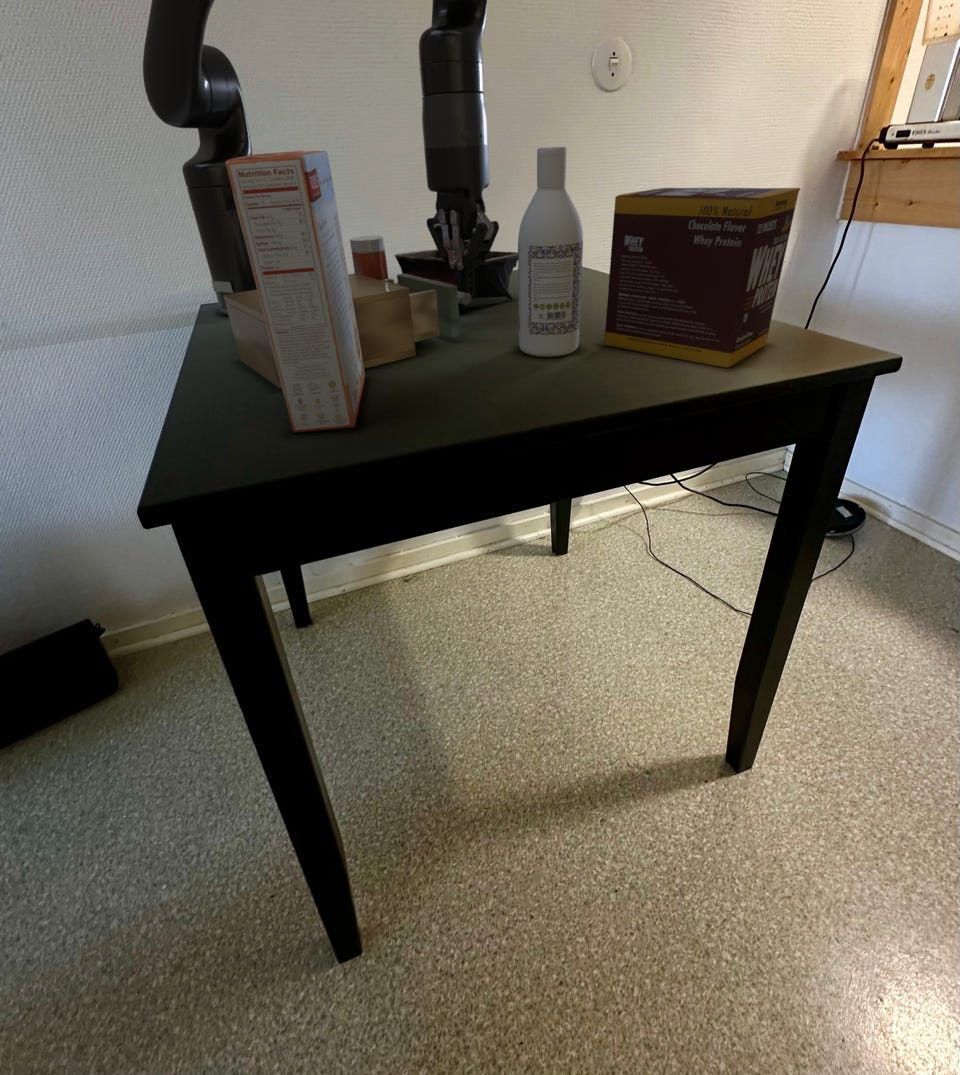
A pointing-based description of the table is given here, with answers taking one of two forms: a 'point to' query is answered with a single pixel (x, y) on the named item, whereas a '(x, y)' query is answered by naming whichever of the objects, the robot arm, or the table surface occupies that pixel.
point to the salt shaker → (369, 257)
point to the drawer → (433, 306)
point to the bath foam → (550, 263)
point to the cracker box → (302, 283)
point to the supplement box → (697, 270)
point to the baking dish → (430, 266)
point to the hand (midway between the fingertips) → (465, 298)
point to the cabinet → (377, 322)
